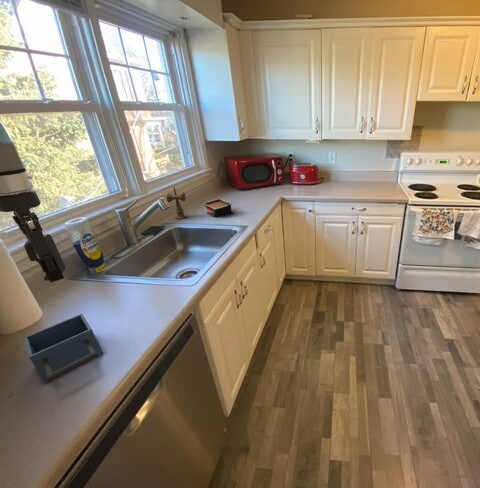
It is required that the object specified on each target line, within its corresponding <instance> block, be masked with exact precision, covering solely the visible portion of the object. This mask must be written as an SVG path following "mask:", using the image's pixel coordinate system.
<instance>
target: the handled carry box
mask: <svg viewBox="0 0 480 488" xmlns="http://www.w3.org/2000/svg"><path fill="white" fill-rule="evenodd" d="M23 341H24V345H25V348H26V351H27V355H28V358H29V360H30V361H31V363H32V364H33V366H34V367H35V369H36V371H37V372H38V374H39V375H40V377H41V378H42V380H43V381H44V382H45V383H46V384H47V383H50V382H52V381H54V380H56V379H58V378H60V377H63V376H64V375H66V374H68V373H69V372H72V371H74V370H76V369H77V368H79V367H82V366H83V365H85V364H87V363H90V362H91V361H93V360H96V359H97V358H99V356H102V355H104V351H103V349H102V347H101V346H100V343H99V342H98V339H97V337H96V335H95V333H94V331H93V329H92V327H91V326H90V324H89V322H88V321H87V319H86V317H85V316H84V314H83V313H79V314H77V315H75V316H71V317H70V318H68V319H65V320H62V321H60V322H57V323H55V324H52V325H50V326H48V327H46V328H43V329H40V330H38V331H35V332H33V333H31V334H28V335H26V336H23Z"/></svg>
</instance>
